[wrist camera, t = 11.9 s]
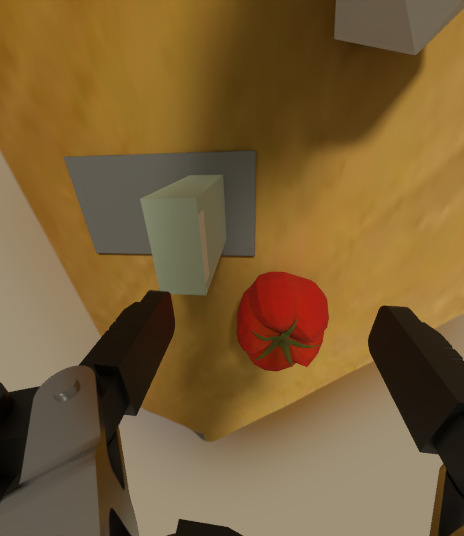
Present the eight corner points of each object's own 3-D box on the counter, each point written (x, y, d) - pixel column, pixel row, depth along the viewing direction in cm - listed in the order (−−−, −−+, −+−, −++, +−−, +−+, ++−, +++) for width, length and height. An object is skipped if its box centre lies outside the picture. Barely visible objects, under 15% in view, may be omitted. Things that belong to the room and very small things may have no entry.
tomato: (265, 338, 34) (266, 395, 26) (222, 282, 30) (208, 330, 23) (336, 310, 30) (361, 366, 23) (297, 242, 26) (311, 283, 19)
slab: (188, 175, 24) (139, 198, 14) (223, 174, 23) (196, 198, 14) (196, 239, 27) (160, 293, 18) (226, 239, 27) (206, 295, 17)
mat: (66, 157, 25) (63, 157, 24) (255, 150, 22) (255, 150, 22) (98, 251, 30) (96, 252, 30) (254, 254, 28) (254, 255, 27)
